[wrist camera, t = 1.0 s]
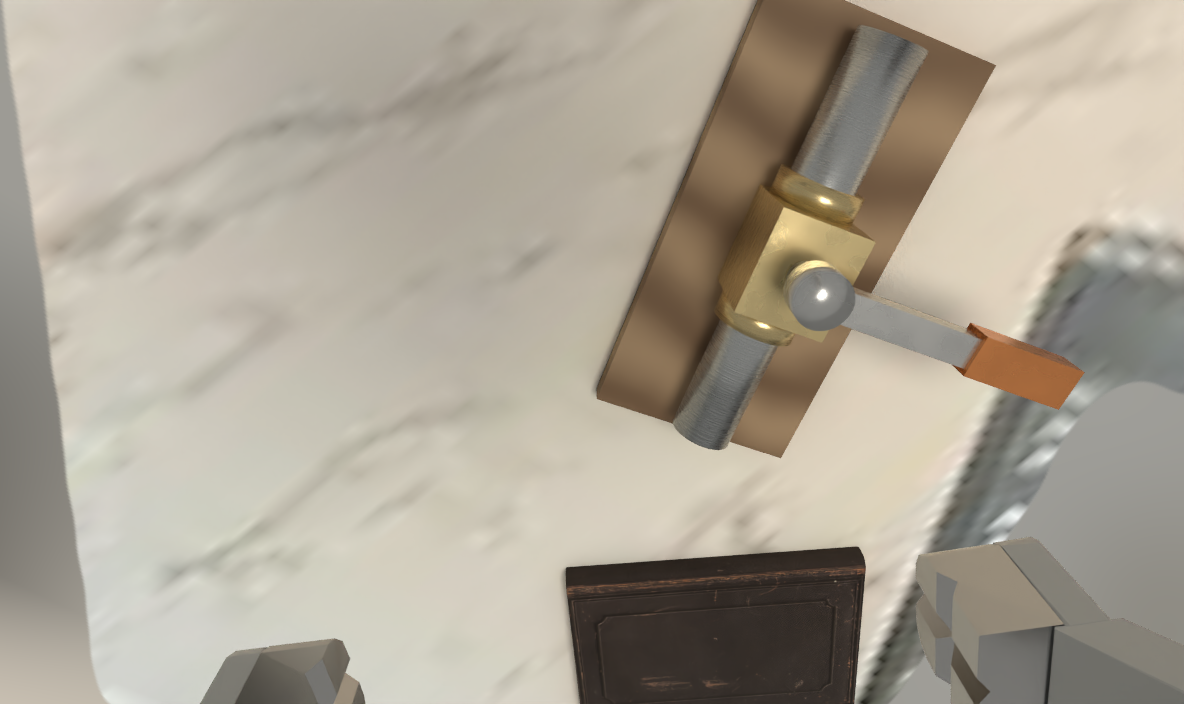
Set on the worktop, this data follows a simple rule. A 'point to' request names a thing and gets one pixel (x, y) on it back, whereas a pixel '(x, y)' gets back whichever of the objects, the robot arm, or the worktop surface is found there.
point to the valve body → (798, 232)
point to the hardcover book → (719, 629)
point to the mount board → (752, 157)
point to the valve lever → (929, 335)
